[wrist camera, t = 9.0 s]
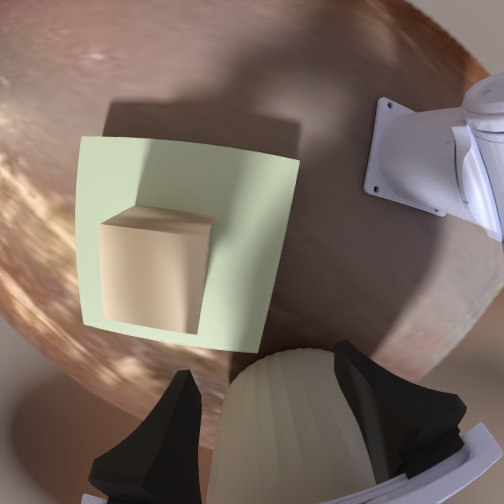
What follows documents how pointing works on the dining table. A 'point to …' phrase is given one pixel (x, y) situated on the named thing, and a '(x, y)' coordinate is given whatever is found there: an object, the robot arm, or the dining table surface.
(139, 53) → the dining table surface
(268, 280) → the green plinth
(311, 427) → the canister
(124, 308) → the maple block
